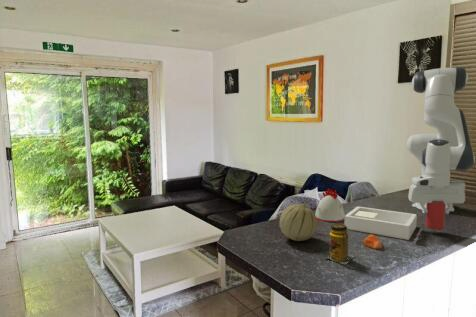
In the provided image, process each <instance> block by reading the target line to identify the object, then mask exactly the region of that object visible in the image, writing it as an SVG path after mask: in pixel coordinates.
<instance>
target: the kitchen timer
mask: <svg viewBox="0 0 476 317" xmlns="http://www.w3.org/2000/svg"><path fill="white" fill-rule="evenodd" d="M322 196H323V197H322V199H321V200H320V201H319V203H318V204H317V207H316V211H315V213H314V214H315V216H316V220H317V222H319V221H320V222H321V221H322V222H328V223H336V222H337V223H339V222H342V221H344V216H345V215H346V214H345V213H346V212H345V210H344V207H343V204H342V202H341V201H340V200H339V199H338V196H339V192H337V191H336V189H335V190H334V191H333V189H330V188H328V189H326V190H324V192H322Z"/></svg>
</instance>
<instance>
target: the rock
mask: <svg viewBox="0 0 476 317" xmlns="http://www.w3.org/2000/svg"><path fill="white" fill-rule="evenodd" d="M363 245H364V247H366V248H367V247H368V248H371V249H375V250H380V249H383V244H382V243H381V240H380V239H379V238H378V237H377V236H376V234H369V235H368V236H367V237H365V238H364V240H363Z"/></svg>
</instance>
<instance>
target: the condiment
mask: <svg viewBox="0 0 476 317" xmlns="http://www.w3.org/2000/svg"><path fill="white" fill-rule="evenodd" d="M329 256H330V259H331V260H333V261H335V262H334V263H336V262H337V263H336V264H342V265H344V266H345V265H347V264H348V263H349V262H350V261H351V260H352V259H354V257H355V255H352V254H351V255H350V254H349V234H348V229H347V226H345V225H344V223H332V224H331V225H330V232H329ZM347 258H349V260H348V259H347ZM333 261H332V262H333ZM338 262H343V263H338Z"/></svg>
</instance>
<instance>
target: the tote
mask: <svg viewBox="0 0 476 317" xmlns="http://www.w3.org/2000/svg"><path fill="white" fill-rule="evenodd" d="M359 211H365V212H372V213H378V220H374V219H368V218H361V217H355V216H354V215H355V214H356V213H357V212H359ZM417 219H418V216H417V214H415V213H411V212H410V213H409V212H401V211H394V210H387V209H379V208H373V207H366V206H365V207H364V206H355V207H354V209H352V210H351V211H348V213H346V214H345V216H344V220H343V221H344V223H343V225H345V226H347V230H351V231H357V232H361V233H367V234H371V235H378V236H384V237H390V238H396V239H401V240H402V239H403V240H406V241H407V240H408V241H409V240H410V238H411V237H412V235H413V234H414V231H416V228H417Z"/></svg>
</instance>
